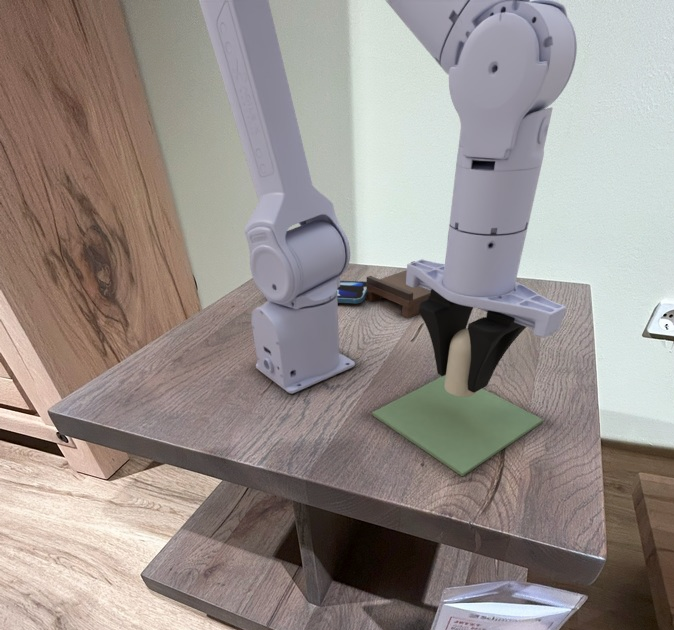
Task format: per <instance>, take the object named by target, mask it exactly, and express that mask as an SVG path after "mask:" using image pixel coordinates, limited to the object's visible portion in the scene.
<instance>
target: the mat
mask: <svg viewBox="0 0 674 630" xmlns="http://www.w3.org/2000/svg"><path fill="white" fill-rule="evenodd" d="M445 377H446V375H444V376H440V377H437V378H436V379H433V380H432V381H430V382H429V383H426V384H424V385H422V386H421V387H419V388H416V389H414V390H413V391H411V392H409V393H407V394H405V395H403V396H401V397H399V398H397V399H395V400H393V401H391V402H389V403H387V404H385V405H383V406H381V407H379V408H377V409H376V410H374V411H372V412H371V415H372V416H373V417H374V418H376V419H377V420H379V421H380V422H381V423H383V424H384V425H386V426H388V427H389V428H390V429H392V430H393V431H395V432H396V433H397V434H399V435H401V436H402V437H404V438H405V439H407V440H408V441H409V442H411V443H412V444H414V445H415V446H416V447H418V448H420V449H421V450H422V451H424V452H426V453H427V454H428V455H430V456H431V457H433V458H434V459H436V460H437V461H439V462H440V463H442V464H443V465H444V466H446V467H448V468H449V469H451V470H452V471H453V472H455V473H456V474H458V475H459V476H461V477H464V476H465V475H467V474H469V473H470V472H472V471H473V470H475V468H477V467H479V466H481V464H483V463H485V462H486V461H488V460H489V459H490V458H492V457H494V455H496V454H498V453H499V452H501V451H503V450H504V449H505V448H507V447H508V446H510V445H511V444H513V443H514V442H516V441H517V440H518V439H520V438H521V437H523V436H525V435H526V434H527V433H529V432H530V431H532V430H534V429H535V428H536V427H538V426H540V425H541V424H542V423H543V421H544V419H543V418H541V417H539V416H537V415H535V414H533V413H532V412H530V411H528V410H526V409H523V408H521V407H519V405H518V406H517V405H516V404H514V403H512V402H510V401H507V400H506V399H504V398H502V397H500V396H498V395H496V394H495V393H492V392H490V391H488V390H486V389H485V388H482V389H480V390H478V391H477V393H476V394H474V395H472V396H468V397H459V396H455V395H452V394H450V393H448V392H447V391H446V390H445V387H444V385H445Z"/></svg>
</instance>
